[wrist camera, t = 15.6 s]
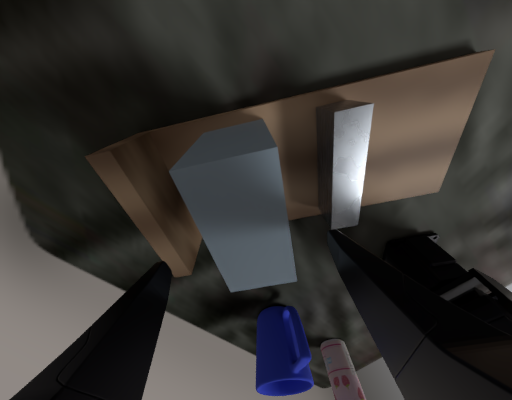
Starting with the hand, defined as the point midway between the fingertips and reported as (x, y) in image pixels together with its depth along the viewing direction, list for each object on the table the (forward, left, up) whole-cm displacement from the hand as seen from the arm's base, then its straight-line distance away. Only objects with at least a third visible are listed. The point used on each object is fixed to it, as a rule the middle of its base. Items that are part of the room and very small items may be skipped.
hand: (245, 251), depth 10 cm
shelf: (0, -6, -10) cm, 12 cm away
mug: (-27, 0, -10) cm, 29 cm away
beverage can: (-47, -10, -10) cm, 49 cm away
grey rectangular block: (0, -8, -9) cm, 12 cm away
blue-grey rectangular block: (0, 0, -9) cm, 9 cm away
